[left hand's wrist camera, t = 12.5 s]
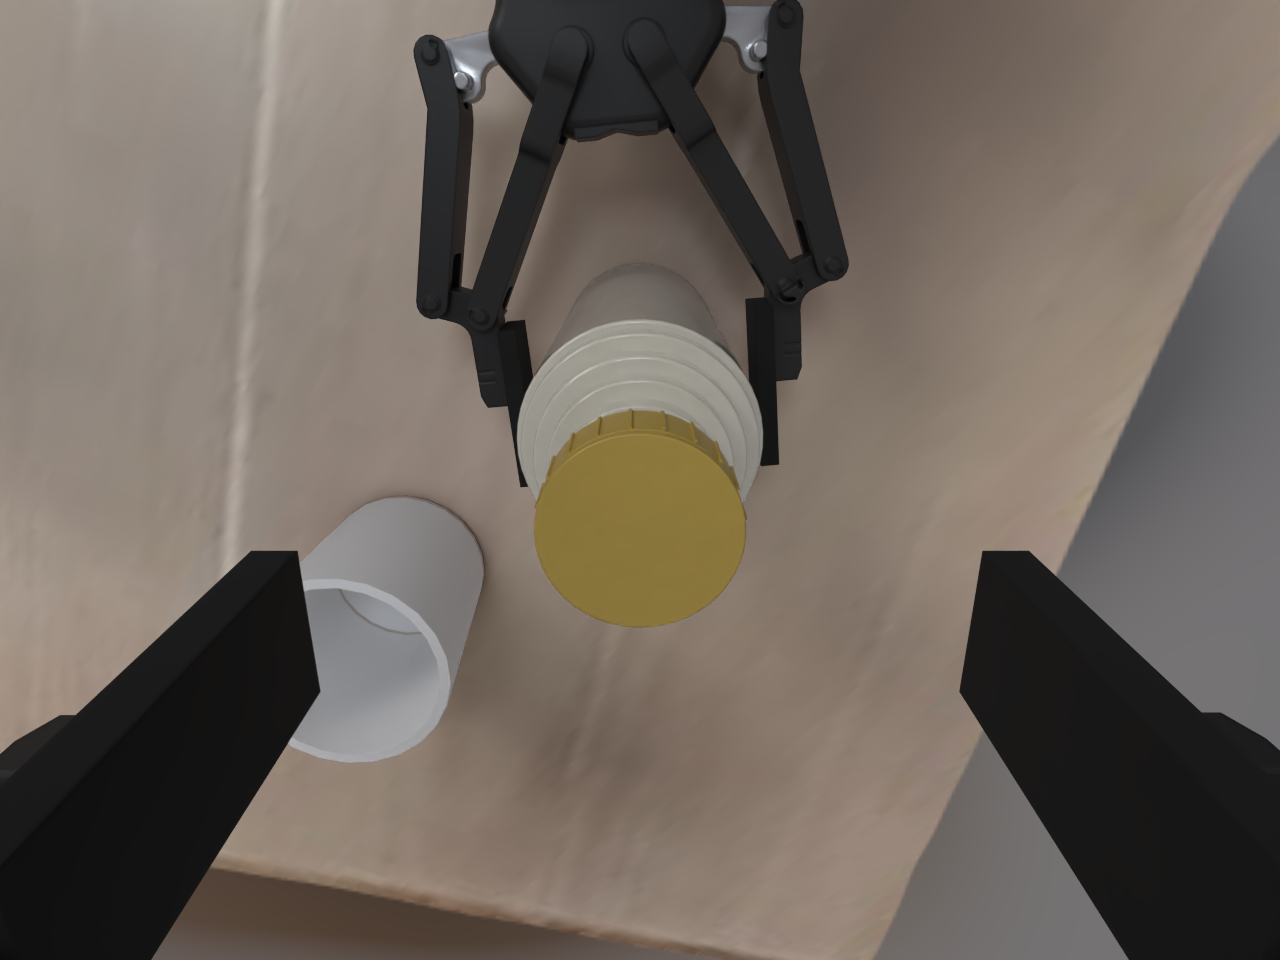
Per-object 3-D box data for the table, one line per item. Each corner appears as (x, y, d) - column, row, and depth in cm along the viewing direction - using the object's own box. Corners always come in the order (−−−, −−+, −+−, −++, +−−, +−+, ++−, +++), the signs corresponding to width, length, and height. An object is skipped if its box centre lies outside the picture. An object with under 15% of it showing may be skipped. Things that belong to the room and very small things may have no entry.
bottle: (743, 328, 38) (872, 507, 17) (649, 437, 40) (660, 719, 19) (629, 231, 37) (615, 292, 15) (537, 348, 39) (411, 547, 17)
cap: (778, 490, 18) (792, 522, 17) (652, 622, 20) (653, 665, 18) (626, 366, 17) (624, 386, 16) (503, 514, 19) (489, 548, 17)
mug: (440, 458, 40) (377, 543, 31) (523, 599, 43) (489, 717, 34) (259, 542, 42) (146, 648, 32) (351, 672, 45) (271, 806, 35)
